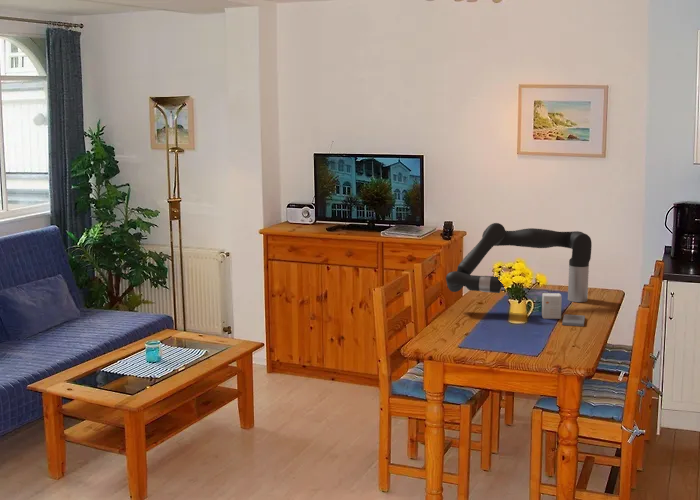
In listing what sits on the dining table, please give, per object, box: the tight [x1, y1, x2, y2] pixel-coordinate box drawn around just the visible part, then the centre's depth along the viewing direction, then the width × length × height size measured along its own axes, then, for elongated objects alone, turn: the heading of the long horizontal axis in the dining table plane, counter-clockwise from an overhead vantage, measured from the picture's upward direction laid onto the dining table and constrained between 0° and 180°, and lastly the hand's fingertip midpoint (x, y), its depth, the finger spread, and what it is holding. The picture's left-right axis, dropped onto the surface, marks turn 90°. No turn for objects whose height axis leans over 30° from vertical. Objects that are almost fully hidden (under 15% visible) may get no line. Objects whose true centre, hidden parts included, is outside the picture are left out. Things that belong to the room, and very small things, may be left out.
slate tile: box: [561, 313, 586, 327], centre depth 379 cm, size 14×9×1 cm, turn 163°
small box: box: [541, 292, 563, 320], centre depth 386 cm, size 8×6×10 cm
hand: (526, 286), depth 388 cm, fingers open, 8 cm apart
